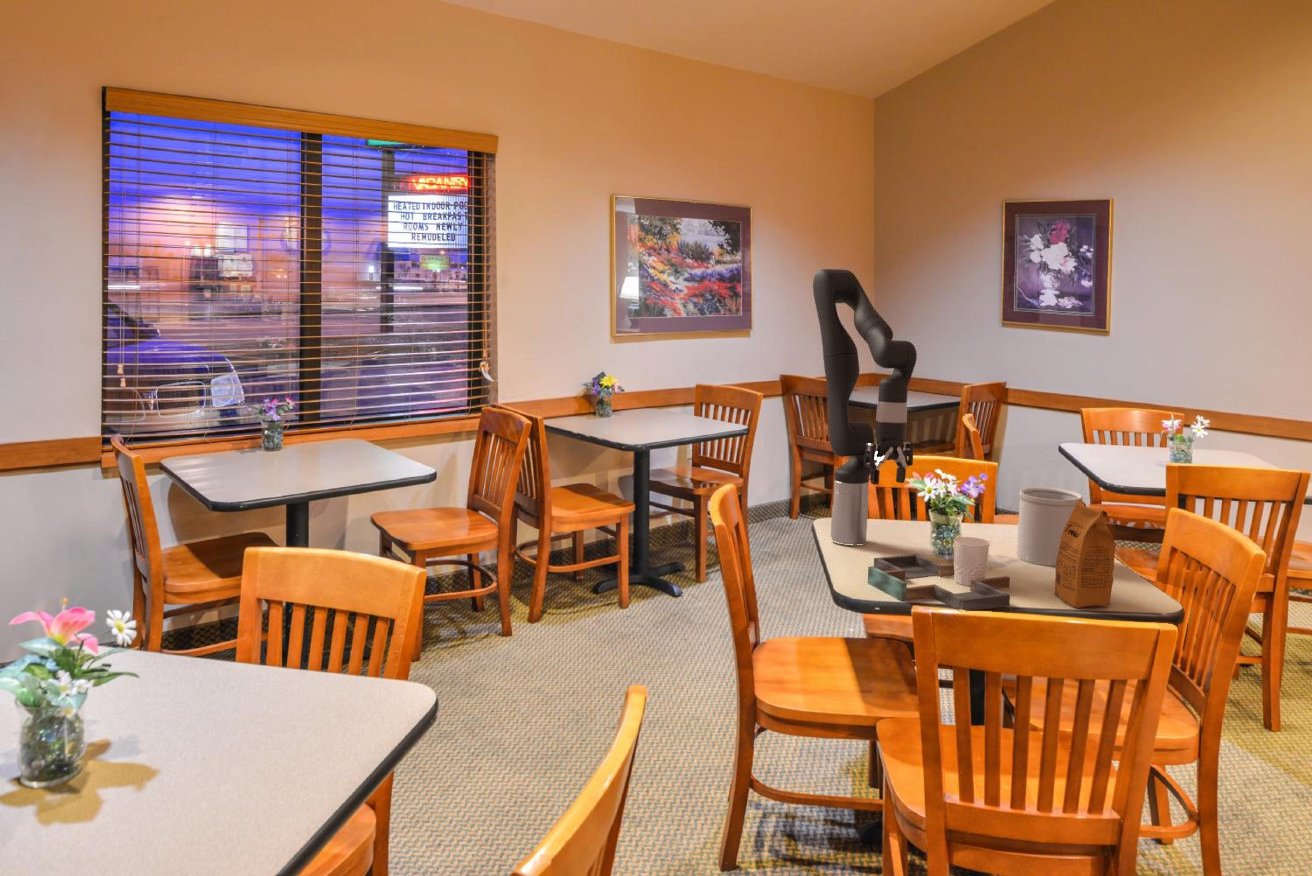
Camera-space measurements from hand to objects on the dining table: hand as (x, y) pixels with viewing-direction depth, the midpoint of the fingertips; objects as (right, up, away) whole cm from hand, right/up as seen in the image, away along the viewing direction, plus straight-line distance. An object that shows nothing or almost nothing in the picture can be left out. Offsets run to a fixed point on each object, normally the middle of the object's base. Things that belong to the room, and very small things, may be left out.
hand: (887, 483), depth 232 cm
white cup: (+15, -23, -16) cm, 32 cm away
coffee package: (+36, -25, -28) cm, 52 cm away
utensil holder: (+42, -20, +4) cm, 47 cm away
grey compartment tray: (+7, -23, -19) cm, 31 cm away
